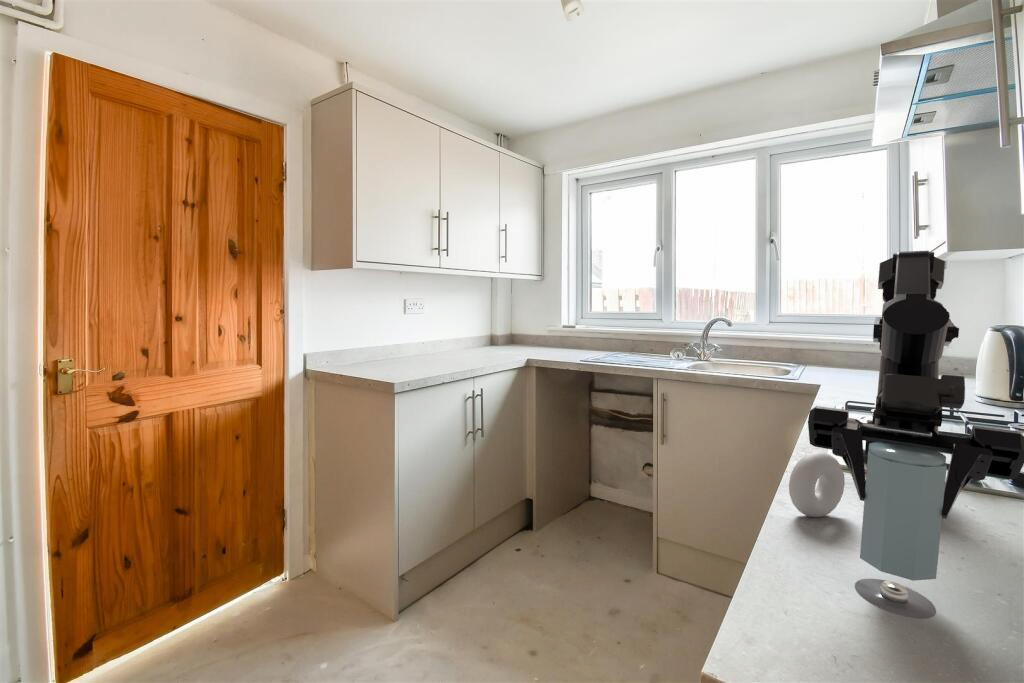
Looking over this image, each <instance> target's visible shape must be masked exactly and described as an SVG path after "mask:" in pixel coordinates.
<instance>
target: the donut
mask: <svg viewBox="0 0 1024 683" xmlns="http://www.w3.org/2000/svg"><path fill="white" fill-rule="evenodd" d="M845 483H846V482H845V473H844V470H843V467H842V464H840V462H839V461H838V459H837V458H835V457H834V456H832V455H831V454H829V453H827V452H823V451H812V452H810V453H808V454H805V455H804V456H802V457H801V458H800V459H799V460H798V461H797V462H796V464H795V465H794V466H793V468H792V470H791V472H790V475H789V480H788V493H789V497H790V500H791V503H792V505H793V506H794V507H795V508H796V510H797V512H799V513H800V514H802V515H805V516H807V517H809V518H822V517H824V516H826V515H829V514H831V513H832V512H833V511H834V510H835V509H836V508H837V506H838V505H839V503H840V501H841V499H842V497H843V494H844V490H845ZM816 484H817V486H816Z"/></svg>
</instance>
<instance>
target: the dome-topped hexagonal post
mask: <svg viewBox="0 0 1024 683" xmlns="http://www.w3.org/2000/svg"><path fill="white" fill-rule="evenodd" d="M946 463H947V456H946V455H945V454H944V453H939V452H937V451H934V450H931V449H928V448H924V447H920V446H915V445H909V444H903V443H894V442H874V443H870V444H869V451H868V455H867V464H866V472H865V480H866V486H865V499H864V501H863V513H862V525H861V539H860V552H859V559H861V560H862V561H863V562H865V563H867V564H868V565H870V566H872V567H873V568H875V569H876V570H877V571H879V572H882V573H885V574H889V575H891V576H895V577H899V578H902V579H906V580H910V581H926V580H929V581H930V580H936V579H937V573H938V563H939V554H940V553H939V552H940V544H941V543H940V539H941V530H942V519H943V518H942V510H943V501H944V490H945V483H946V478H947V470H948V469H947V466H948V465H947V464H946Z"/></svg>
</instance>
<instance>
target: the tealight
mask: <svg viewBox="0 0 1024 683" xmlns="http://www.w3.org/2000/svg"><path fill="white" fill-rule="evenodd" d="M905 587H906V586H905ZM905 587H904V585H903V584H900V583H897V582H895V581H891V580H890V581H889V580H885V581H884V582H883V583H882V584H881V587H880V594H881V596H882V597H884V598H885V599H887V600H889V601H892V602H895V603H899V604H906V603H907V602H908V591H907V589H906V588H905Z"/></svg>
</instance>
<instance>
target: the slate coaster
mask: <svg viewBox="0 0 1024 683" xmlns="http://www.w3.org/2000/svg"><path fill="white" fill-rule="evenodd" d="M884 581H886V580H884V579H880V578H862V579H859V580H857V581H856V582H855V583H854V589H855V591H856V593H858V595H859V596H860V597H862V599H864V600H865V601H867V602H868V603H870V604H872V605H873V606H876V607H877V608H879V609H881V610H883V611H886V612H889V613H891V614H895V615H897V616H901V617H906V618H911V619H928V618H932V617H934V616H935V614H936V613H937V609H936V606H935V604H933V602H932V601H930V600H929V599H928V598H927V597H926V596H924V595H923V594H921V593H919V592H918V591H916V590H914V589H912V588H910V587H907V586H904V585H903V586H904V587H905V588H906V589H907V591H908V602H907V603H906V604H899V603H895V602H892V601H889V600H887V599H885V598H884V597H882V596H881V594H880V587H881V584H882V583H883V582H884Z"/></svg>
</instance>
